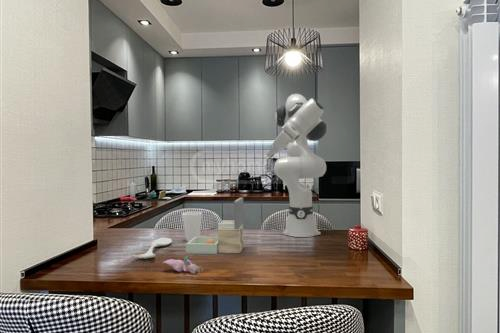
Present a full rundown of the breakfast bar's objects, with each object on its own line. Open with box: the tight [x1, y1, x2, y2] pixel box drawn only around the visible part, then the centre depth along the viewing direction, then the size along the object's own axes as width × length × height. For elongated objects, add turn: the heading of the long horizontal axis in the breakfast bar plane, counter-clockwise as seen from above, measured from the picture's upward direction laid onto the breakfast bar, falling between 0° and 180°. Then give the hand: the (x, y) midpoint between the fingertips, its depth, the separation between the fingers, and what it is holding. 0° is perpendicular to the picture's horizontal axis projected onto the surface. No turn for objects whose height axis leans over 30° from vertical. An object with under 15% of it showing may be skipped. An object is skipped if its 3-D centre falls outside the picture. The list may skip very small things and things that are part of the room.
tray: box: [185, 236, 218, 255], centre depth 148 cm, size 13×13×4 cm
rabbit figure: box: [162, 256, 204, 275], centre depth 119 cm, size 6×6×15 cm
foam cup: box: [181, 211, 203, 242], centre depth 166 cm, size 10×9×13 cm
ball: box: [206, 239, 215, 244], centre depth 147 cm, size 4×4×4 cm
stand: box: [217, 226, 244, 254], centre depth 146 cm, size 9×9×9 cm
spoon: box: [131, 237, 173, 259], centre depth 147 cm, size 9×32×4 cm, turn 179°
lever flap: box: [217, 197, 245, 231], centre depth 146 cm, size 9×14×12 cm, turn 171°
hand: (268, 156), depth 144 cm, fingers open, 8 cm apart
